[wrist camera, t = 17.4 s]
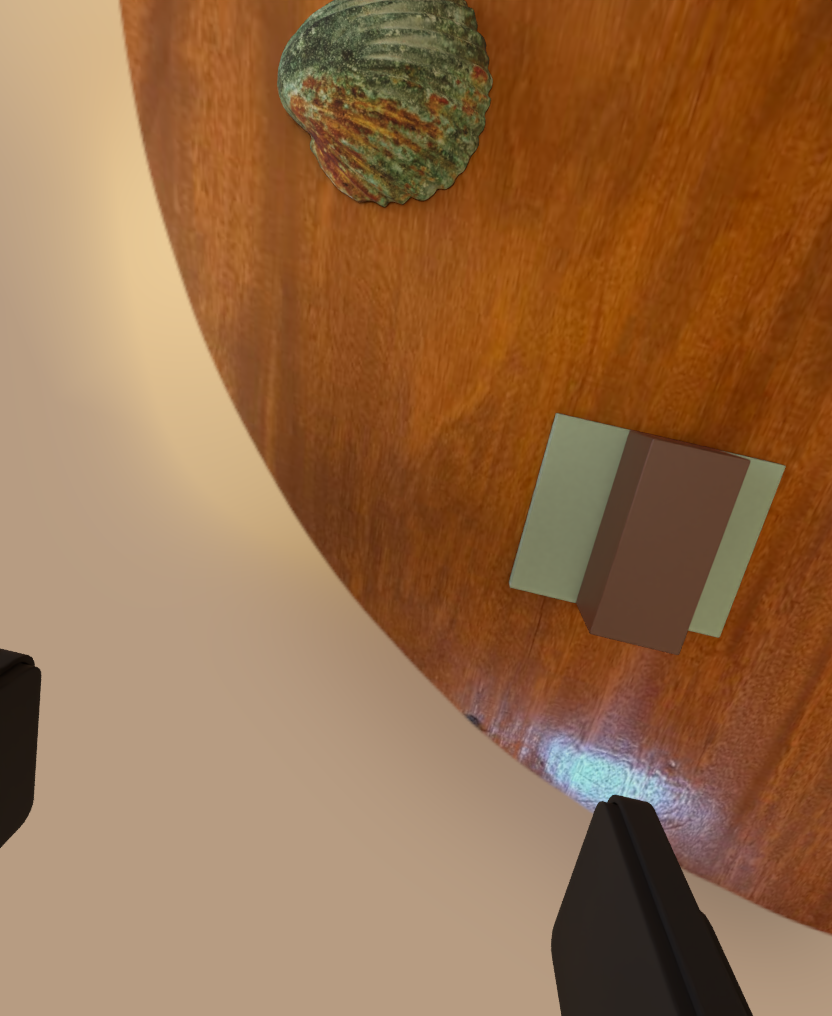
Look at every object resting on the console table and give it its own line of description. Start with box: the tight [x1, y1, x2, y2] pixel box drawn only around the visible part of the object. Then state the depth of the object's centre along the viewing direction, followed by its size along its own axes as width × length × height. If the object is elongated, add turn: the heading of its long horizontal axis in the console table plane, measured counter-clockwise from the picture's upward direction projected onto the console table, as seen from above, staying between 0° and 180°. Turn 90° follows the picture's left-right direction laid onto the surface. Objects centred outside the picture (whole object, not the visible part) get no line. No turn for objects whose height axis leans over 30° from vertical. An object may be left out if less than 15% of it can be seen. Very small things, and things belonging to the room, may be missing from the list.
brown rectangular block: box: [576, 430, 751, 655], centre depth 29 cm, size 4×10×4 cm, turn 168°
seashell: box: [277, 0, 493, 207], centre depth 26 cm, size 10×4×10 cm
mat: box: [509, 413, 785, 638], centre depth 31 cm, size 12×10×1 cm
